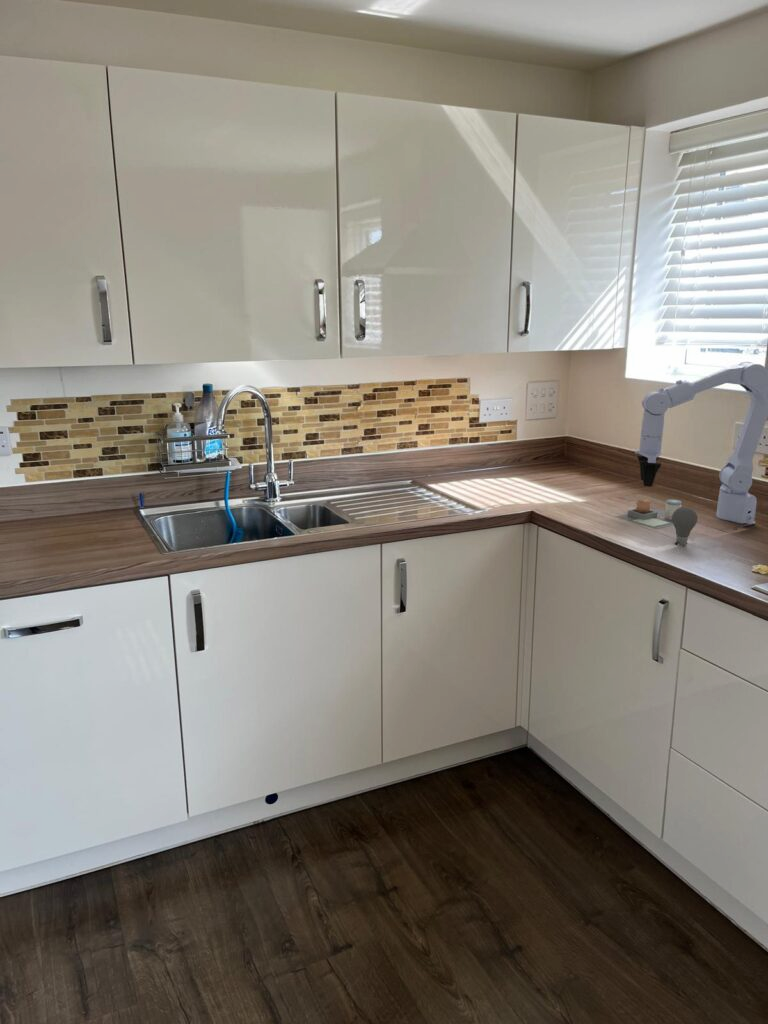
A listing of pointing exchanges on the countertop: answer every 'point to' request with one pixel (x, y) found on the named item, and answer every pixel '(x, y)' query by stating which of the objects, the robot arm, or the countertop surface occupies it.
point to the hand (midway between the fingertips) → (646, 483)
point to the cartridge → (671, 508)
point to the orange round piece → (643, 505)
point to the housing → (647, 518)
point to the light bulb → (684, 523)
